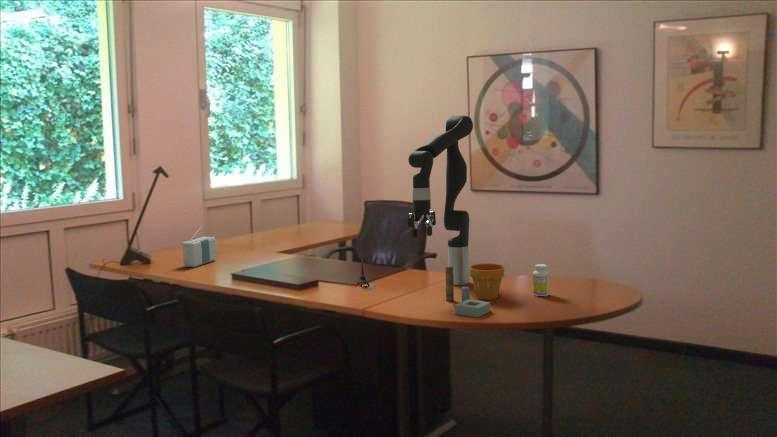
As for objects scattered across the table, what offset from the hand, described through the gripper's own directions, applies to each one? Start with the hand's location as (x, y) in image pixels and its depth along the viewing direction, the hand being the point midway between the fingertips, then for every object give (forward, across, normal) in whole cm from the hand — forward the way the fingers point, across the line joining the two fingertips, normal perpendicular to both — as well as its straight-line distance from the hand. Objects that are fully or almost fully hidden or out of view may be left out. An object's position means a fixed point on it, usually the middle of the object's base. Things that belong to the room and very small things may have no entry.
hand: (422, 236), depth 315 cm
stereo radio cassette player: (+22, +31, -137) cm, 142 cm away
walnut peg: (+25, -1, +15) cm, 29 cm away
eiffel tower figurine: (+25, +6, -32) cm, 41 cm away
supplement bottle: (+25, -33, +37) cm, 55 cm away
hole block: (+26, +7, +34) cm, 43 cm away
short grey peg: (+26, 0, +24) cm, 35 cm away
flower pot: (+25, -15, +23) cm, 37 cm away
